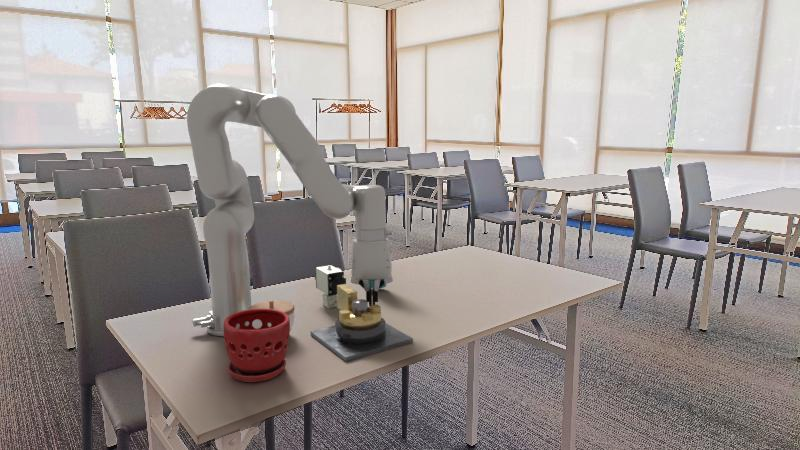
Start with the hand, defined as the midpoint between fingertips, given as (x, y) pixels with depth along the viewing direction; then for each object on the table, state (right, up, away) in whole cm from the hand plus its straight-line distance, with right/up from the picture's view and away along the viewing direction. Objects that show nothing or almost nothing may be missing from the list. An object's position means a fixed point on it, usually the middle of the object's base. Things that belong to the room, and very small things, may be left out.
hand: (372, 304), depth 133 cm
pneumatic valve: (-12, -3, +15) cm, 20 cm away
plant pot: (-22, -11, -25) cm, 35 cm away
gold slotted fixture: (-4, -2, -6) cm, 7 cm away
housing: (-2, -7, -8) cm, 11 cm away
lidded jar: (-24, -7, -7) cm, 26 cm away
